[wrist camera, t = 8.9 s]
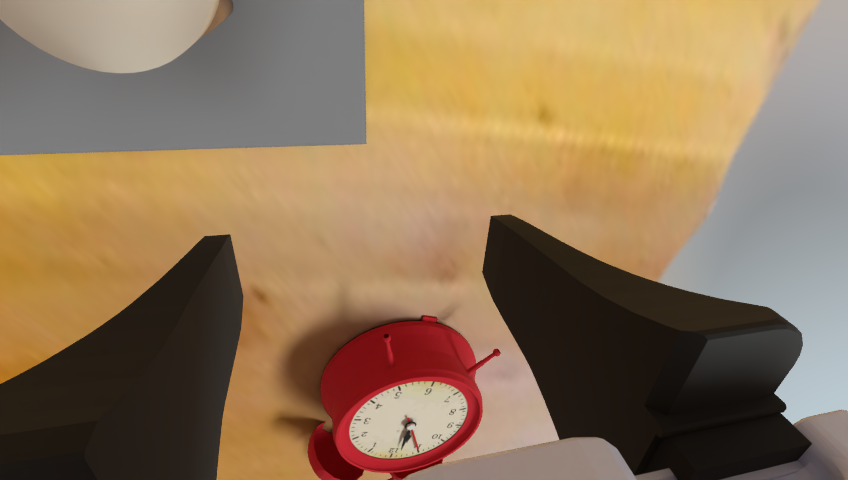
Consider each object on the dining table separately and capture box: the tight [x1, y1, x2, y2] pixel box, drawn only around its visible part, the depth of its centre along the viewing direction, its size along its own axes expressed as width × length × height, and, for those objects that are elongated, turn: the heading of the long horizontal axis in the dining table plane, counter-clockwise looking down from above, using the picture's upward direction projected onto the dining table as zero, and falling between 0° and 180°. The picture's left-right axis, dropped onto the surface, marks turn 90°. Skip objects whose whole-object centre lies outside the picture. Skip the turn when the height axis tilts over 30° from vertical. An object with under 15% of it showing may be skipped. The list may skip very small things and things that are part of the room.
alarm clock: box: [308, 315, 500, 480], centre depth 29 cm, size 10×6×15 cm
